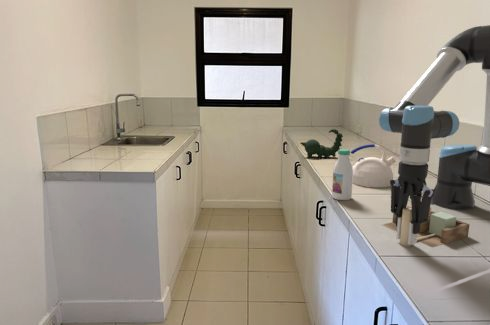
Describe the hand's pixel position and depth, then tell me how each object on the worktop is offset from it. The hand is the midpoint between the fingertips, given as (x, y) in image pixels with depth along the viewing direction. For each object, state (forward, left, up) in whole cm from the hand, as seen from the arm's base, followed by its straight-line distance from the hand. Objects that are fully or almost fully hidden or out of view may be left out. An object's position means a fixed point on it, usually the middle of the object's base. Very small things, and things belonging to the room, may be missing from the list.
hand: (406, 240), depth 110 cm
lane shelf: (-13, -5, -2) cm, 14 cm away
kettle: (-43, -57, -2) cm, 71 cm away
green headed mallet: (-8, 0, -2) cm, 8 cm away
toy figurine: (-57, -114, -2) cm, 127 cm away
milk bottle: (-14, -44, -2) cm, 46 cm away
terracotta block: (-16, -9, -1) cm, 18 cm away
